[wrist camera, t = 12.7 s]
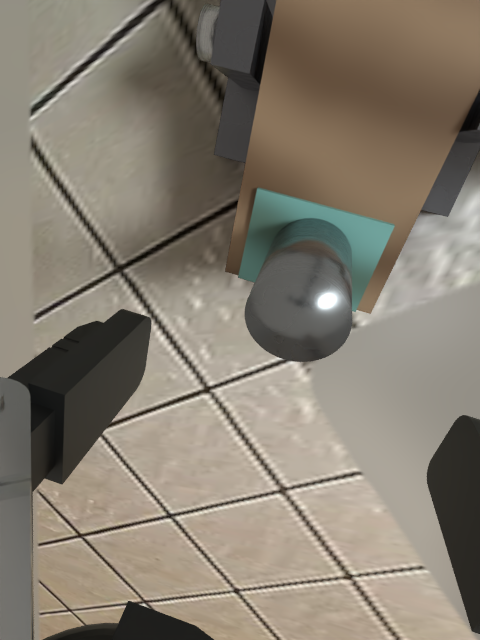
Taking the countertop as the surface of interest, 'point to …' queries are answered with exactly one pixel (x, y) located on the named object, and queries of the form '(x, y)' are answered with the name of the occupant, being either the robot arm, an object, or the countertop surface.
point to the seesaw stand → (245, 78)
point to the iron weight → (303, 292)
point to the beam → (355, 125)
